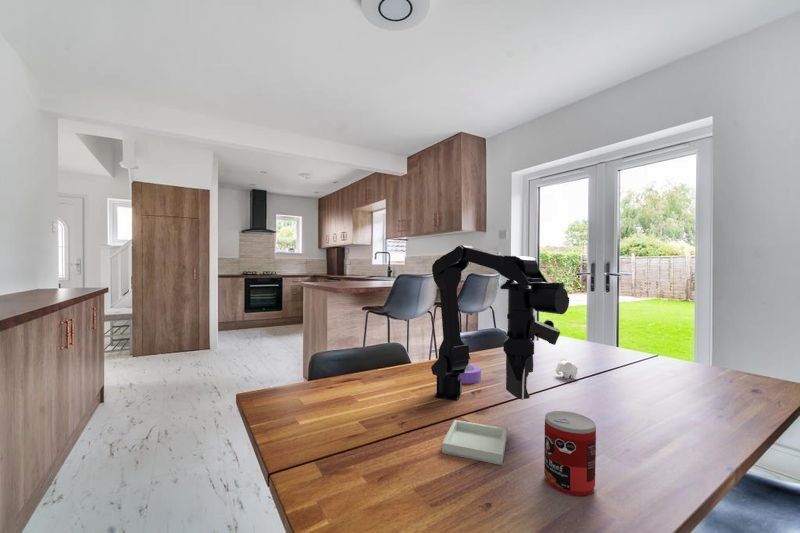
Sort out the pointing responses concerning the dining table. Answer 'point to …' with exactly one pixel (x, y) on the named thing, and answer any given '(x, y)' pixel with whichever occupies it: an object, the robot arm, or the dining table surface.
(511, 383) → the battery charger
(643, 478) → the dining table surface
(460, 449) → the shallow rectangular tray
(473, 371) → the masking tape
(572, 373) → the elephant figurine
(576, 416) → the canned food
